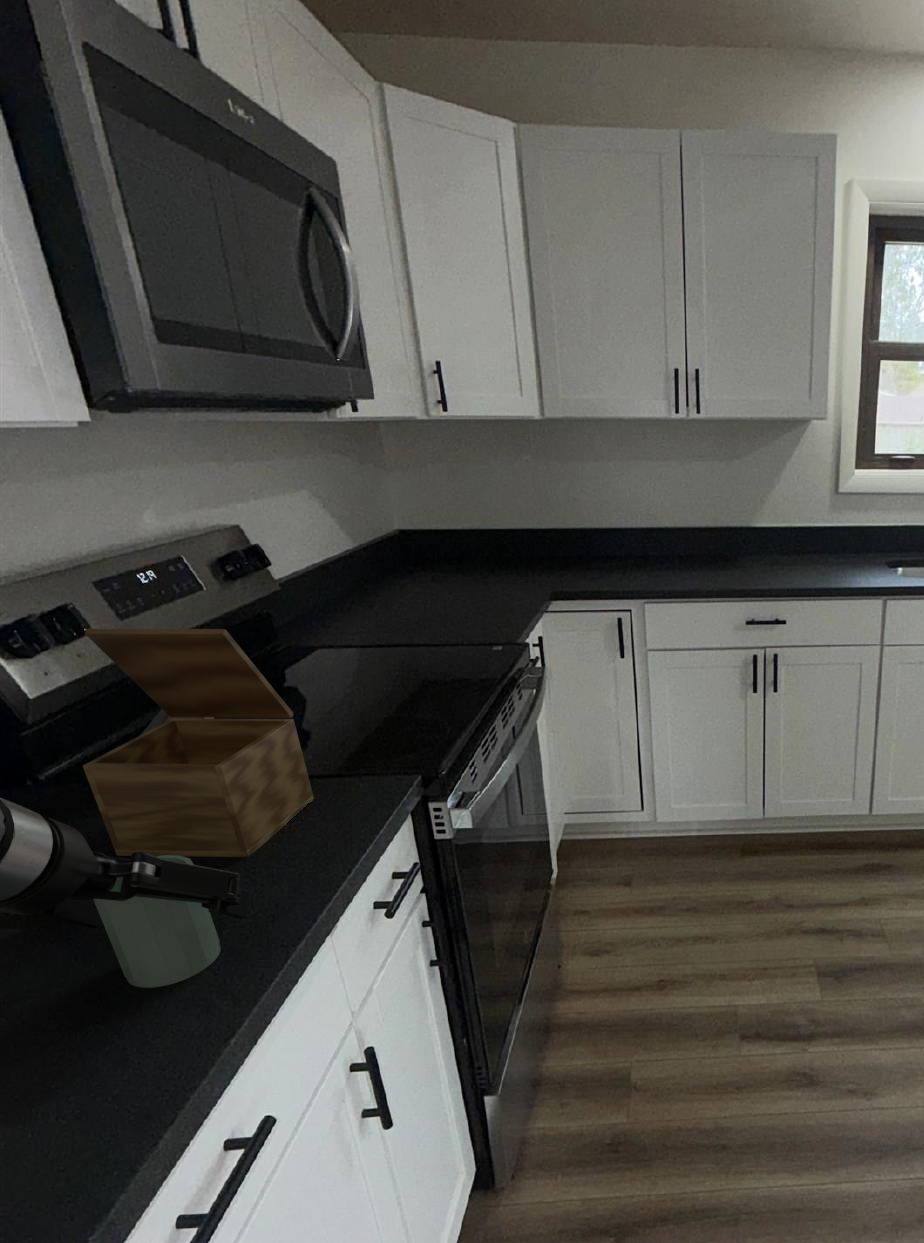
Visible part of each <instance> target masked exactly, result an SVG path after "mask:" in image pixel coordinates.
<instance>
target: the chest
mask: <svg viewBox="0 0 924 1243" xmlns="http://www.w3.org/2000/svg"><path fill="white" fill-rule="evenodd" d="M141 734H142V733H141ZM141 734H140V735H138V736H136V737H134V738H132V739H130V740H129V741H127V742H125V743H123V744H121V745H119V746H117V747H115V748H114V749H112V750H109V751H108V752H105V753H104V754H102V755H100V756H98V757H96V758H94V759H93V760H90V761H89V762H87V763H84V764H83V765H82V768H83V770H84V773H85V776H86V779H87V781H88V784H89V786H90V789H91V792H92V794H93V797H94V799H95V802H96V804H97V807H98V811H99V812H100V815H101V818H102V820H103V823H104V825H105V828H106V831H107V833H108V836H109V839H110V842H111V844H112V847H113V850H114V852H115V854H116V857H131V855H132V853H137V852H144V853H146V854H149V855H152V856H155V857H156V856H162V855H179V856H183V857H186V858H189V857H193V858H194V857H197V858H198V857H199V858H200V857H201V858H250V856H252V855H253V854H255V852H256V851H258V850H259V849H260V848H261V847H262V846H263V845H265V843H267V842H268V841H269V840H270V839H271V838H273V837H274V836H275V835H276V834H277V833H279V831H281V830H282V829H283V828H284V827H286V825H288V824H289V823H290V822H291V821H292V820H293V819H294V818H295V817H294V816H296V815H297V814H298V813H299V812H300V810H303V808H304V807H306V805H307V804H308V803H310V802H312V801H313V799H314V800H315V797H314V793H313V791H312V786H311V782H310V778H309V774H308V771H307V770H308V769H307V766H306V763H305V758H304V755H303V750H302V747H301V743H300V740H299V739H300V738H299V735H298V730H297V727H296V724H295V720H294V718H214V719H191V718H179V719H178V718H173V719H171V720H169V721H167V722H165V723H163V724H161V725H159V726H157V727H155V728H154V729H152V730H150V731H148V732H146V733H144V734H142V735H141ZM313 802H314V801H313ZM313 802H312V803H313ZM306 808H307V807H306ZM303 811H304V810H303ZM300 813H301V812H300ZM300 813H299V814H300ZM299 814H298V815H299ZM298 815H297V816H298ZM297 816H296V817H297ZM293 817H294V818H293ZM292 818H293V819H292ZM291 819H292V820H291ZM290 820H291V821H290ZM289 821H290V822H289ZM288 822H289V823H288ZM287 823H288V824H287ZM283 826H284V827H283ZM280 829H281V830H280ZM273 835H274V836H273Z"/></svg>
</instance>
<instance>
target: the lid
mask: <svg viewBox="0 0 924 1243" xmlns="http://www.w3.org/2000/svg"><path fill="white" fill-rule="evenodd" d="M84 635H85V636H86V637H87V638H88V639H90V640H91V642H93V643H94V644H95V646H97V647H98V648H99V649H100V650H101V651H102V652H103V653H104V654H105V655H106V656H107V657H108V658H109V659H110V660H111V662H113V663H114V664H115V665H116V666H117V667H118V668H119V669H120V670H121V671H122V672H123V673H125V675H127V676H128V678H130V679H131V680H132V681H133V682H134V683H135V684H136V685H137V686H138V687H139V689H141V690H142V691H143V692H144V693H145V694H146V695H147V696H148V697H149V698H150V699H151V700H152V701H153V702H154V703H155V704H156V705H157V706H158V707H159V708H160V709H163V710H164V711H165V712H166V713H167V714H168V715H169V716H170V717H214V719H293V716H294V712H293V710H292V709H291V708H290V707H289V706H288V704H287V703H286V702H285V700H283V699H282V697H281V696H280V695H279V693H278V692H277V691H276V689H275V688H274V687H273V686H272V685H271V684H270V682H269V681H268V680H267V679H266V678H265V676H264V675H263V673H262V672H261V671H260V670H259V669H258V667H257V666H256V665H255V664H254V663H253V661H252V660H251V659H250V658H249V657H248V655H247V654H246V653H245V651H244V650H243V649H242V648H241V647H240V645H239V643H237V642H236V640H235V639H234V638H233V637H232V636H231V634H230V633H229V632H228V630H227V629H226V628H87V629H86V630H85V631H84Z"/></svg>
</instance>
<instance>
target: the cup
mask: <svg viewBox="0 0 924 1243" xmlns="http://www.w3.org/2000/svg"><path fill="white" fill-rule="evenodd" d="M155 857H158V858H161V859H166V860H171V861H177V862H182V863H187V864H192V865H195V864H194V863H193V861H192V859H191V858H189V857H186V856H179V855H162V856H155ZM122 880H123V877H118V878H117V880H116V883H115V885H114V887H113V889H112V890H111V891H115V892H120V890H121V885H122ZM93 900H94V902H95V905H96V907H97V910H98V912H99V915H100V917H101V919H102V925H103V926H104V929H105V932H106V934H107V937H108V939H109V941H110V943H111V946H112V950H113V952H114V954H115V957H116V959H117V961H118V963H119V964H118V965H119V966H120V969H121V971H122V973H123V975H124V978H125V980H126V982H127V983H128V984H130V986H131V985H132V986H133V987H136V988H141V989H152V988H160V987H161V988H162V987H165V986H169V985H173V984H177V983H180V982H183V981H185V980H188V979H190V978H192V977H195V976H197V974H200V973H201V972H203V971H205V970H206V969H207V968H209V967H210V966H211V965H212V964H213V963H214V962H215V961H216V960H217V959H218V958H219V956H220V953H221V951H222V947H221V943H220V938H219V935H218V932H217V930H216V927H215V926H216V925H215V924H214V921H213V917H212V915H211V912H208V911H209V909H207V908H204V907H201V906H202V903H197V902H187V901H176V900H166V899H156V898H145V897H135V896H134V897H133V898H130V899H128V900H126V901H116V900H105V899H93Z"/></svg>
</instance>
